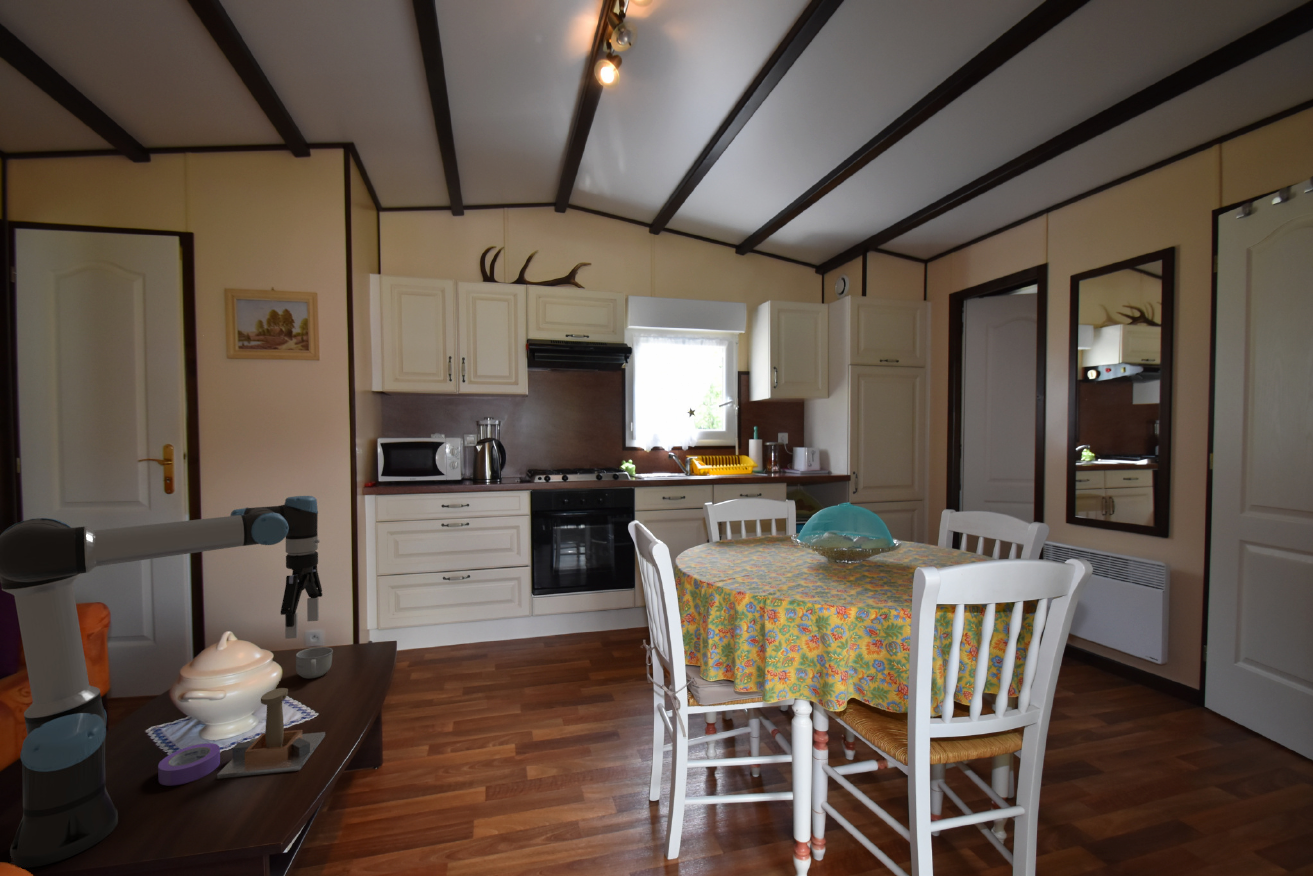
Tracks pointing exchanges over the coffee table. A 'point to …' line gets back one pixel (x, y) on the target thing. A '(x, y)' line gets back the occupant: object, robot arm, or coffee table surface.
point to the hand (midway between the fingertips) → (302, 629)
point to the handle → (274, 716)
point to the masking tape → (189, 764)
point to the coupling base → (271, 755)
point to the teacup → (313, 662)
